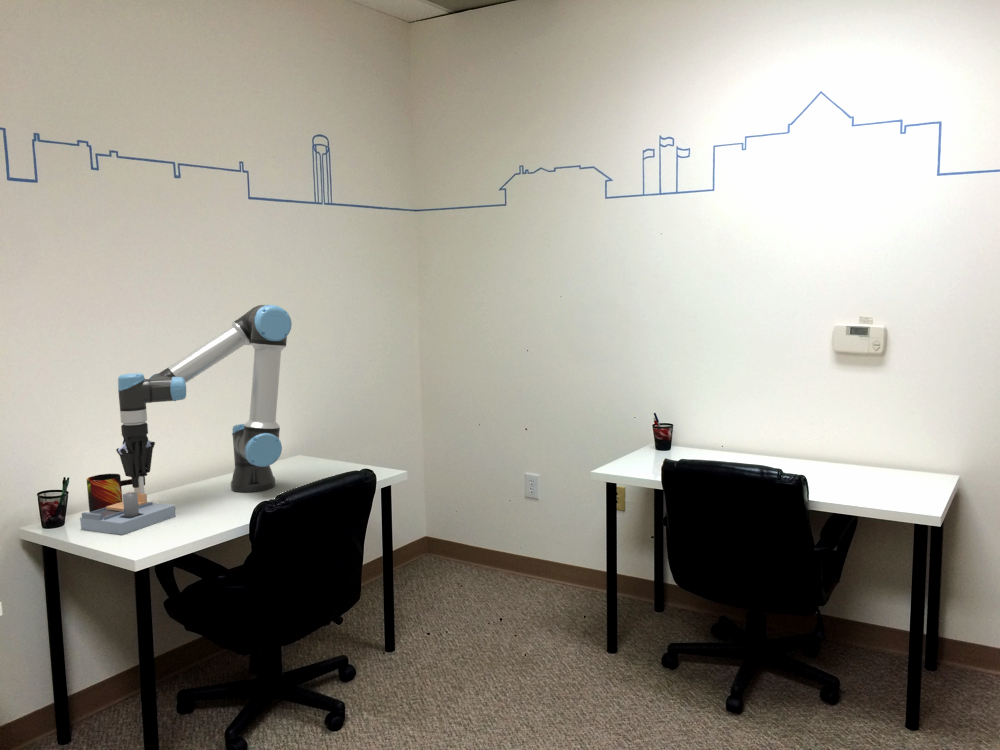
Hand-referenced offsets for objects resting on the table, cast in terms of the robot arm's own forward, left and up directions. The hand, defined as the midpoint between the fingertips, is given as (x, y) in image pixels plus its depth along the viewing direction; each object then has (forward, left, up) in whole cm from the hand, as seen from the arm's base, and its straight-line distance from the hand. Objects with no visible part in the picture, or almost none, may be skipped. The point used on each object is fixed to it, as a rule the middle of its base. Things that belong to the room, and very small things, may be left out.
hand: (139, 496), depth 251 cm
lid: (+5, 0, -2) cm, 6 cm away
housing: (+8, +4, -6) cm, 11 cm away
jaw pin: (+11, +9, -6) cm, 15 cm away
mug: (+1, -11, -6) cm, 13 cm away
